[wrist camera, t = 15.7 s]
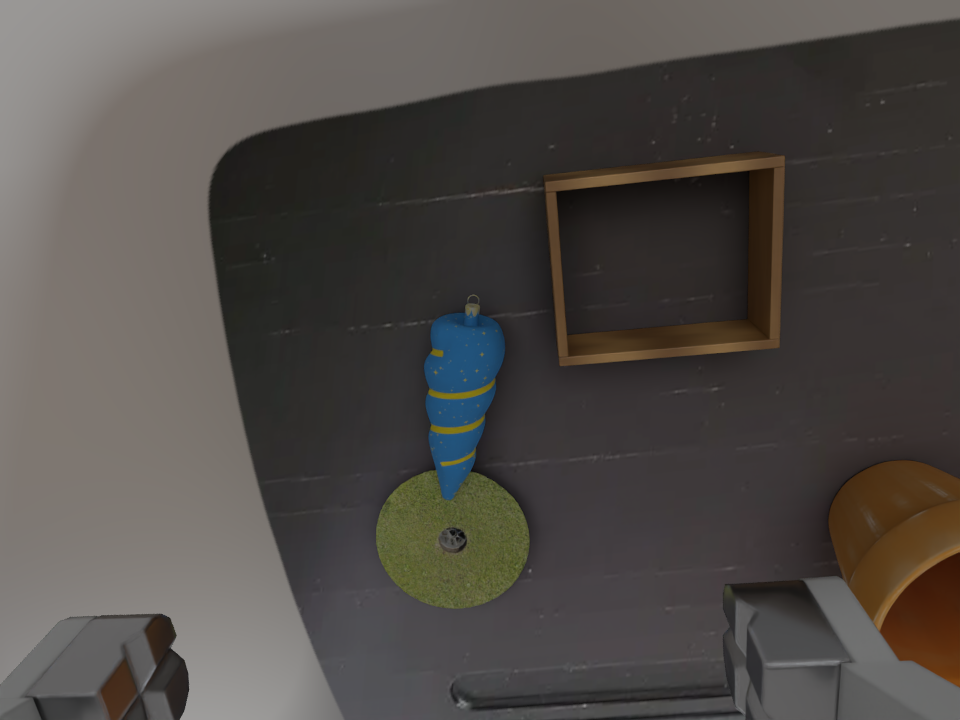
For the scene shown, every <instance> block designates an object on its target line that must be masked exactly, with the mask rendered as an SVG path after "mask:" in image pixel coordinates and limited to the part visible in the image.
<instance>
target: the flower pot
mask: <svg viewBox="0 0 960 720" xmlns="http://www.w3.org/2000/svg"><path fill="white" fill-rule="evenodd" d="M828 524H829V531H830V535H831V539H832V543H833V546H834V550H835V553H836V557H837V560H838V563H839V567H840V570H841V573H842V577H843V580H844V581H845V582H846V584H847V585H848V587H849V588H850V590H851V591H852V593H853V594H854V595H855V597H856V598H857V600H858V601H859V603H860V604H861V606H862V607H863V608H864V610H865V611H866V613H867V614H868V616H869V617H870V619H871V620H872V621H873V623H874V624H875V626H876V627H877V629H878V630H879V632H880V633H881V634H882V636H883V637H884V639H885V640H886V642H887V643H888V645H889V646H890V647H891V649H892V650H893V652H894V653H895V655H896V656H897V658H898V659H899V660H900V661H913V662H915V663H917V664H919V665H921V666H922V667H924V668H926V669H928V670H929V671H931V672H933V673H935V674H936V675H938V676H940V677H942V678H943V679H945V680H947V681H949V682H951V683H952V684H954V685H956V686H958V687H959V688H960V479H958V478H956V477H954V476H952V475H950V474H948V473H946V472H943V471H941V470H939V469H937V468H934V467H932V466H930V465H927V464H924V463H921V462H916V461H910V460H896V461H888V462H883V463H880V464H877V465H874V466H872V467H870V468H867V469H866V470H864V471H862V472H860V473H858V474H857V475H855V476H854V477H852V478H851V479H850V480H849V481H848V482H846V483H845V485H844V486H843V487H842V488H841V489H840V490H839V492H838V493H837V495H836V496H835V498H834V500H833V502H832V505H831V508H830V512H829V518H828Z"/></svg>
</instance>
